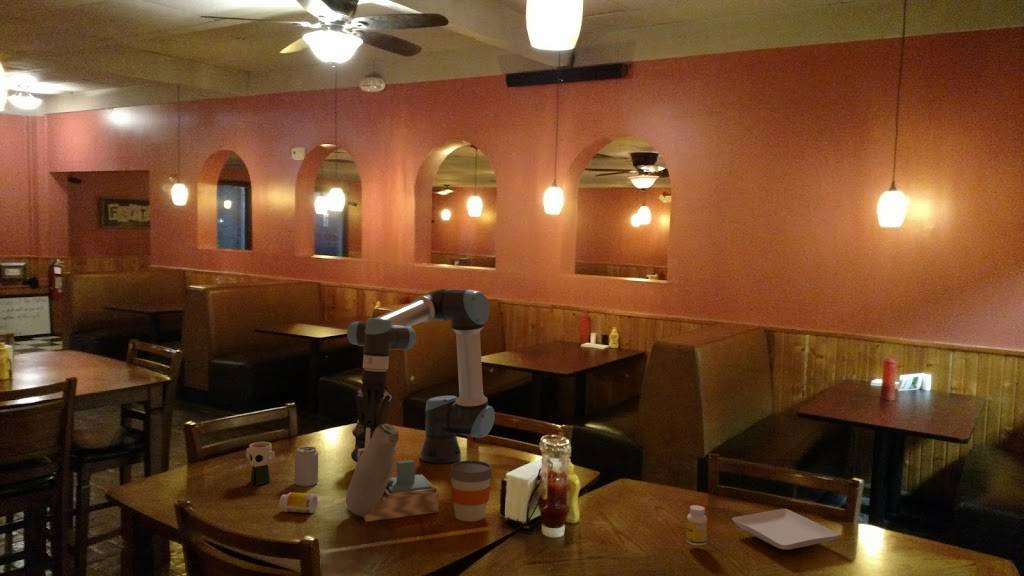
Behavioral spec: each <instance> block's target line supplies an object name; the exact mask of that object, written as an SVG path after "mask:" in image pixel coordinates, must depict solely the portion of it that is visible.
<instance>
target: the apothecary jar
mask: <svg viewBox="0 0 1024 576" xmlns="http://www.w3.org/2000/svg"><path fill="white" fill-rule="evenodd" d="M351 433H352V435H353V437H354V438H355V444H354V449H352V451H351V454H350V458H351V459H352V460H353V461H354V462H356V463H357V462H358V449H362V448H365V438H364V426H363V425H362V424H359V421H358V420H357V421H356V425H355V426H354V427H352V431H351ZM354 470H355V468H354ZM354 470H353V471H354Z"/></svg>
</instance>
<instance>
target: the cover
mask: <svg viewBox="0 0 1024 576" xmlns="http://www.w3.org/2000/svg"><path fill="white" fill-rule="evenodd" d="M415 469H416V462H415V461H414V460H413V459H407V460H397V461H396V476H395V477H390V478H391V479H392V480H393V484H387V486H386V489H387V490H388V491H389V493H397V492H406V491H414V490H423V489H430V486H429V485H428V484H427V483H426V482H425V480H424V479H423V478H422V477H421V476H420V475H419V474H416V473H415V472H416V470H415Z"/></svg>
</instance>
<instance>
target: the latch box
mask: <svg viewBox="0 0 1024 576" xmlns="http://www.w3.org/2000/svg"><path fill="white" fill-rule="evenodd" d="M418 475H420V476H421V477H422V478H423V479H424V480H425V482H426V483H427V484H428V485H429V486H430V489H423V490H414V491H406V492H397V493H389V491H388V490H387V489H385V491H384V494H383V496H382V498H381V499H379V500H378V502H377V504H376V506H375V507H374V509H373V511H372V512H371V513H369V514H367V515H366V516H361V517H362V518H363V520H364V521H365V522H373V521H374V522H375V521H381V520H389V519H396V518H403V517H405V518H406V517H411V516H418V515H425V514H433V513H435V514H436V513H439V494H440V493H439V491H437V488H436V487H435V486H434V485H433V484H432V483H431V482H430V481H429V480H428V479H427V478H426V477H425V476H424V475H423V473H422V474H418Z"/></svg>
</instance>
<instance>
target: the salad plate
mask: <svg viewBox="0 0 1024 576" xmlns="http://www.w3.org/2000/svg"><path fill="white" fill-rule="evenodd" d="M731 521H733V523H734V524H735V525H736V526H738V527H740V528H741V529H742V530H744V531H747V532H748V533H749V534H751V535H752V536H754V537H756V538H758V539H760V540H762V541H764V542H765V543H767V544H769V545H771V546H773V547H775V548H778V549H780V550H795V549H799V548H804V547H809V546H813V545H817V544H821V543H822V544H823V543H827V542H831V541H832V540H833V541H834V540H835V539H837V538H838V537H839V536H840V534H839V533H838V532H836V531H834V530H832V529H830V528H827V527H826V526H823V525H822V524H819V523H818V522H816V521H813V520H811V519H810V518H807V517H805V516H804V515H801V514H798V512H794V511H792V510H790V509H787V508H779V509H774V510H768V511H762V512H757V513H751V514H745V515H739V516H734V517H732V518H731Z"/></svg>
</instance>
